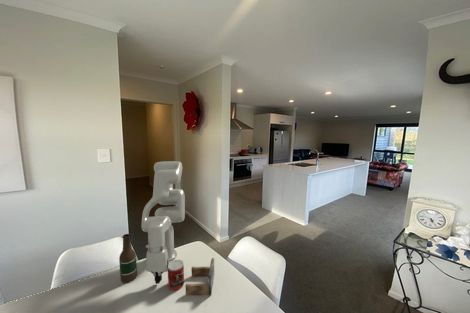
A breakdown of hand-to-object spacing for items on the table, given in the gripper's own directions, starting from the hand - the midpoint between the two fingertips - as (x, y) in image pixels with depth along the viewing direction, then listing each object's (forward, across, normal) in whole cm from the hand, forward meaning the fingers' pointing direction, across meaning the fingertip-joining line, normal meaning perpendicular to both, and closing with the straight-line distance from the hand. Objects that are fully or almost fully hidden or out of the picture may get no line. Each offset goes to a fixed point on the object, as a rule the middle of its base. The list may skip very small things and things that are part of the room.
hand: (158, 281), depth 98 cm
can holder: (+2, +21, 0) cm, 21 cm away
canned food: (+2, +9, 0) cm, 9 cm away
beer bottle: (+2, -18, +5) cm, 18 cm away
